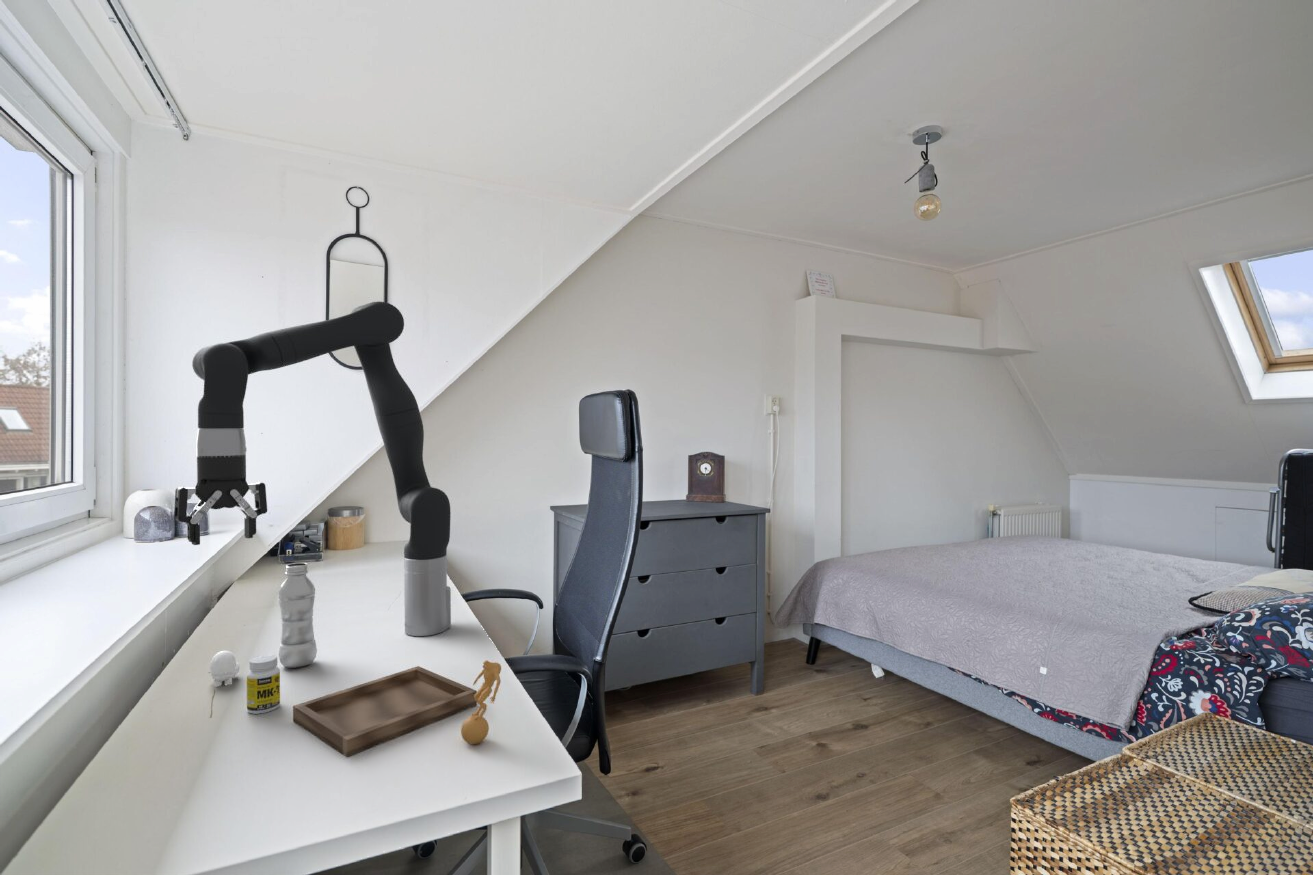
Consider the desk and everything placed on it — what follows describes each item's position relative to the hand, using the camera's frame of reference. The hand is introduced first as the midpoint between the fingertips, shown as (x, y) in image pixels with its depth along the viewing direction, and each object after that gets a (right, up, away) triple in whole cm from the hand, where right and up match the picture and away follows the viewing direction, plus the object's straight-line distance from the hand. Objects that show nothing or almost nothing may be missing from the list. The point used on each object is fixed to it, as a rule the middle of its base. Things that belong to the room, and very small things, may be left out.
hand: (222, 541), depth 120 cm
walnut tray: (+36, -26, -13) cm, 46 cm away
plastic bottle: (+9, -26, +9) cm, 29 cm away
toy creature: (0, -26, +1) cm, 26 cm away
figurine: (+54, -27, -22) cm, 64 cm away
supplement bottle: (+14, -27, -11) cm, 32 cm away
